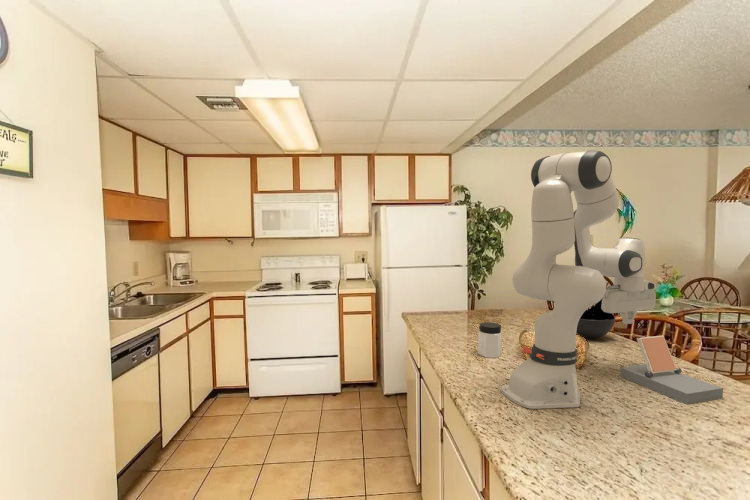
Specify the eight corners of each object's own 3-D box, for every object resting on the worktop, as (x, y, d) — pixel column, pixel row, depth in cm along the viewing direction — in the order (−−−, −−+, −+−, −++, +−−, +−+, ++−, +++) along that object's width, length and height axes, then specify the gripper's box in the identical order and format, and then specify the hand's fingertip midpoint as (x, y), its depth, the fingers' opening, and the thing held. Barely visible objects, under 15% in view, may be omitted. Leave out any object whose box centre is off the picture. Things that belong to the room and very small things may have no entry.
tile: (649, 373, 118) (653, 373, 116) (636, 338, 122) (640, 337, 120) (673, 370, 120) (677, 370, 119) (660, 336, 124) (663, 335, 123)
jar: (474, 352, 150) (474, 323, 149) (490, 350, 153) (490, 321, 153) (489, 359, 142) (489, 328, 141) (505, 356, 145) (506, 326, 144)
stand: (686, 404, 105) (687, 387, 105) (620, 376, 125) (620, 362, 125) (722, 398, 109) (723, 382, 109) (652, 371, 129) (652, 358, 129)
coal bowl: (620, 345, 158) (622, 301, 157) (568, 341, 165) (569, 299, 164) (607, 333, 177) (609, 293, 176) (561, 329, 184) (562, 291, 183)
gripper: (612, 287, 124) (611, 328, 125) (660, 283, 129) (658, 323, 130) (597, 284, 130) (596, 323, 131) (642, 281, 135) (641, 318, 136)
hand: (627, 323), depth 130 cm, fingers closed
